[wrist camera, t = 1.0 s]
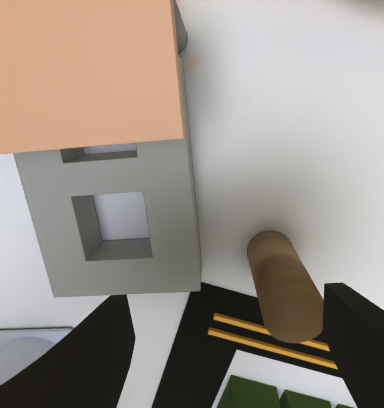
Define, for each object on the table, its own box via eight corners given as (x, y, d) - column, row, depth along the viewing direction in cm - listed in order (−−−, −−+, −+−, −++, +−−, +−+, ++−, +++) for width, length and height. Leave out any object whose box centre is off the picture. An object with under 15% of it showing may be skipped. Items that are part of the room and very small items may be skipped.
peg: (291, 269, 22) (327, 342, 15) (247, 271, 22) (263, 343, 15) (292, 229, 21) (330, 288, 14) (246, 232, 21) (263, 291, 14)
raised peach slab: (196, 121, 19) (183, 138, 10) (31, 136, 20) (-119, 164, 11) (187, 21, 17) (163, -71, 8) (7, 43, 18) (-198, -18, 9)
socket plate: (201, 266, 22) (200, 291, 19) (73, 273, 23) (54, 297, 20) (182, 61, 18) (177, 53, 15) (24, 78, 18) (-10, 74, 16)
